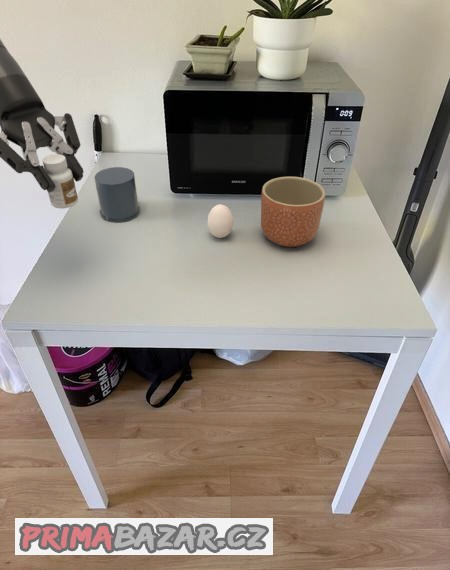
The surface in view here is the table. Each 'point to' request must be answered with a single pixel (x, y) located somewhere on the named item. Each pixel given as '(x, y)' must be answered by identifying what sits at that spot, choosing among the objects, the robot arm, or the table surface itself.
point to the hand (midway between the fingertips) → (66, 183)
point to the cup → (117, 194)
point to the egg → (220, 221)
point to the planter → (291, 210)
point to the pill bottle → (60, 182)
